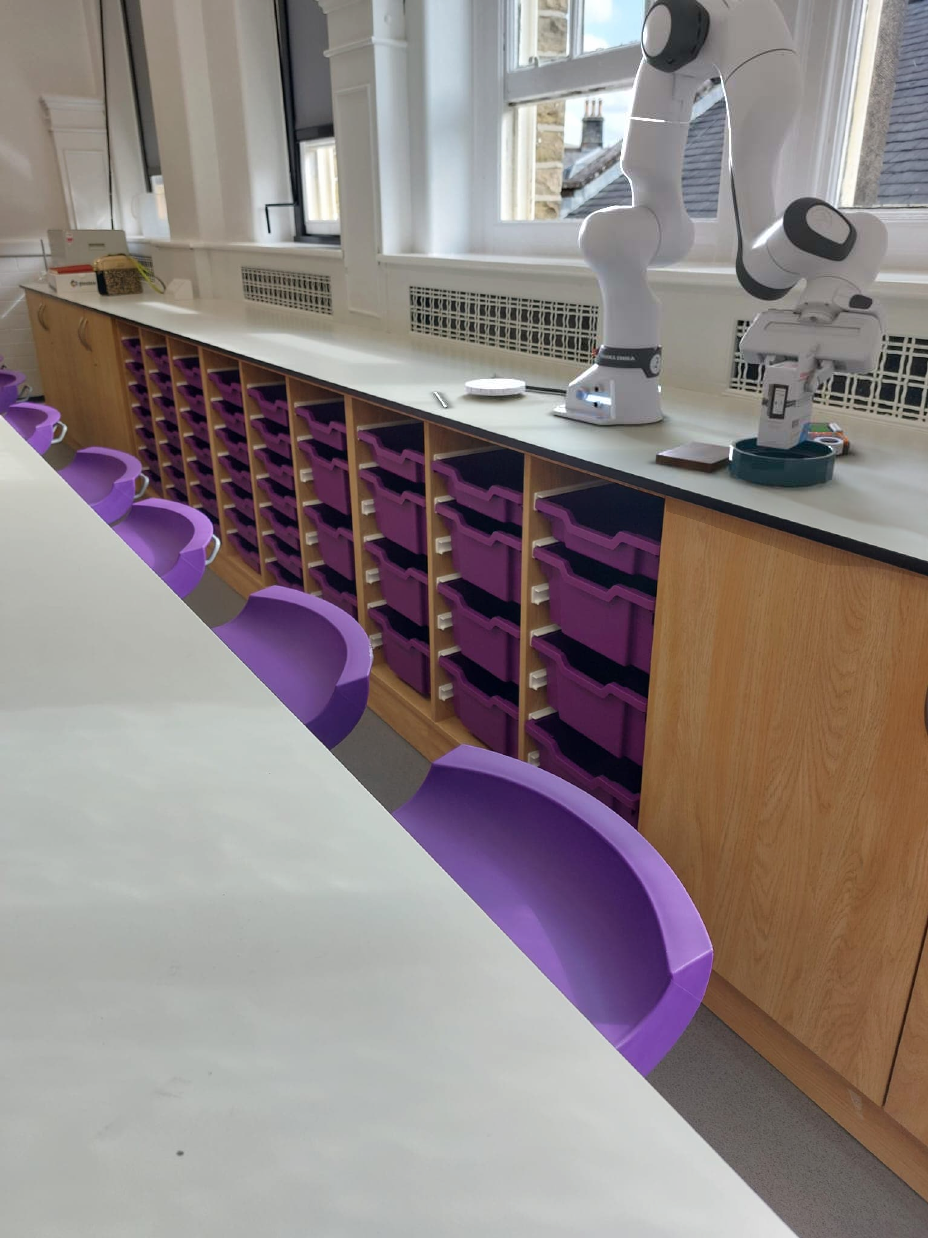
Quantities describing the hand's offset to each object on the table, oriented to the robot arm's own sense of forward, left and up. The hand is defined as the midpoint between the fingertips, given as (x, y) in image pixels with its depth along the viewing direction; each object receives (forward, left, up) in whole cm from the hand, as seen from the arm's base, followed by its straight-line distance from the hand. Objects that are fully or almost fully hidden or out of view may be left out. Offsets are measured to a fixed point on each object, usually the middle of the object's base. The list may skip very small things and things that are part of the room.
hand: (788, 387), depth 130 cm
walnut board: (-14, +2, -14) cm, 19 cm away
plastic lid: (-82, +28, -14) cm, 87 cm away
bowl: (0, +1, -14) cm, 14 cm away
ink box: (0, +1, -9) cm, 9 cm away
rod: (-87, +15, -14) cm, 89 cm away
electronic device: (-3, +24, -14) cm, 27 cm away
